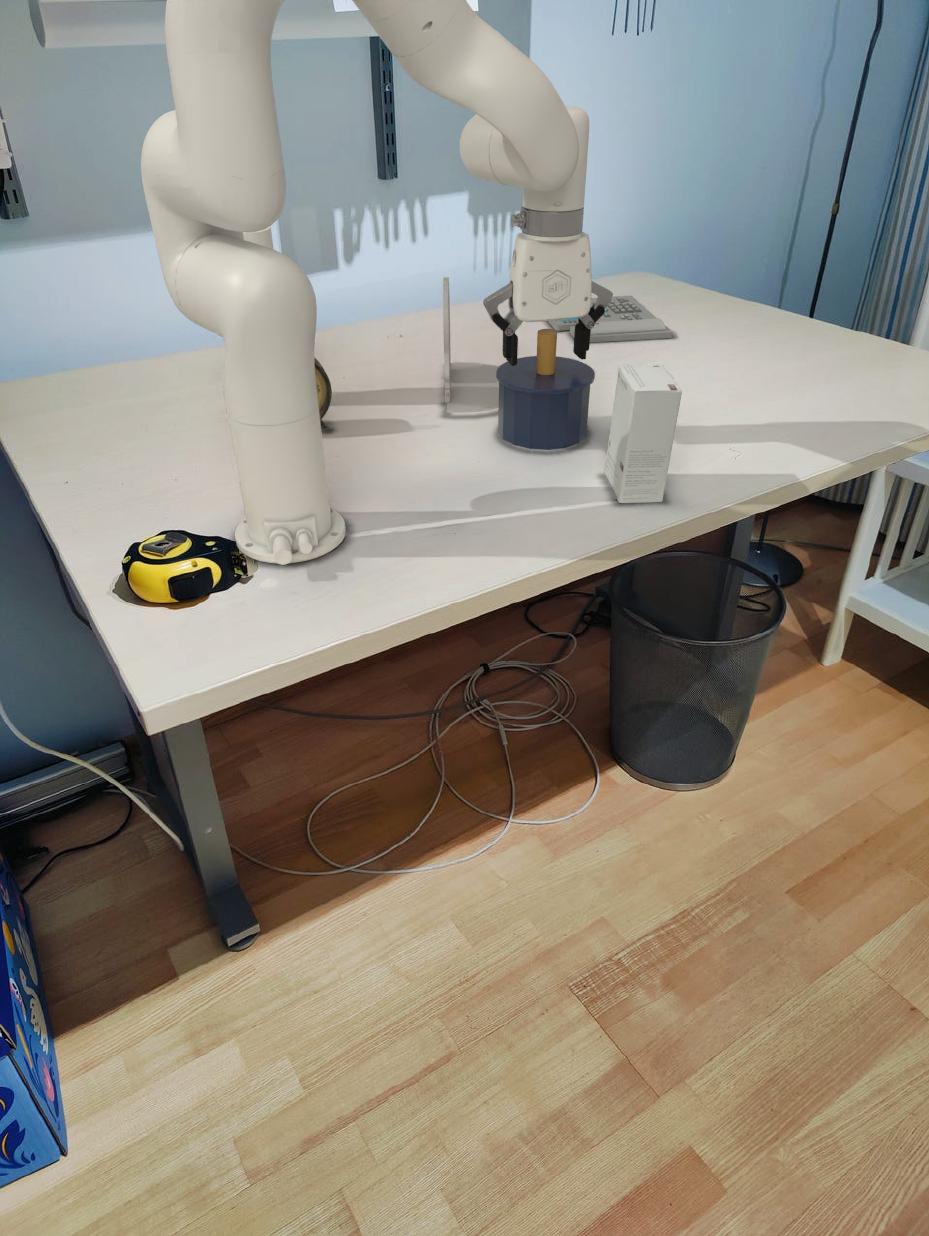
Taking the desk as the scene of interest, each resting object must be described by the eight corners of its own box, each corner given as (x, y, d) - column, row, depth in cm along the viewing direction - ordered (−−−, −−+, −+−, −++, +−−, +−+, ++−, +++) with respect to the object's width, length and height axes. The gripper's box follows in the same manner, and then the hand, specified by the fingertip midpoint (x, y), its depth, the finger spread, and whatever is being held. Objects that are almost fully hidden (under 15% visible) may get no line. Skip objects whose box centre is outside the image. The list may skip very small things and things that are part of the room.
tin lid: (609, 393, 115) (613, 342, 111) (511, 403, 112) (513, 352, 108) (574, 360, 125) (577, 313, 121) (485, 368, 123) (485, 320, 119)
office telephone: (675, 324, 156) (568, 331, 153) (673, 338, 158) (567, 346, 155) (632, 288, 174) (535, 294, 172) (630, 301, 176) (535, 307, 173)
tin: (599, 447, 119) (604, 388, 114) (512, 457, 117) (514, 397, 112) (569, 413, 129) (572, 357, 124) (489, 422, 127) (489, 365, 122)
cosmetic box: (603, 475, 112) (614, 363, 104) (648, 473, 113) (663, 361, 104) (618, 506, 106) (631, 388, 97) (667, 503, 106) (684, 386, 97)
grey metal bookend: (446, 365, 146) (444, 261, 137) (524, 364, 146) (527, 260, 137) (445, 416, 129) (442, 301, 119) (534, 415, 129) (538, 300, 119)
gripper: (492, 233, 102) (491, 374, 112) (629, 224, 105) (616, 363, 115) (477, 220, 108) (476, 355, 118) (606, 213, 111) (595, 345, 121)
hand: (545, 359), depth 117 cm, fingers open, 9 cm apart
